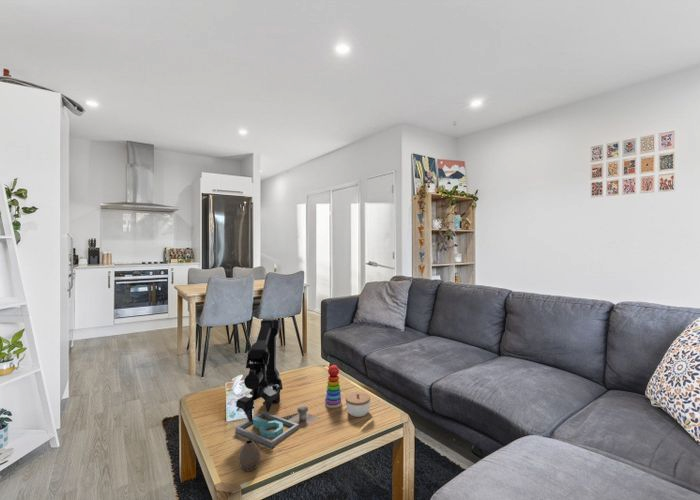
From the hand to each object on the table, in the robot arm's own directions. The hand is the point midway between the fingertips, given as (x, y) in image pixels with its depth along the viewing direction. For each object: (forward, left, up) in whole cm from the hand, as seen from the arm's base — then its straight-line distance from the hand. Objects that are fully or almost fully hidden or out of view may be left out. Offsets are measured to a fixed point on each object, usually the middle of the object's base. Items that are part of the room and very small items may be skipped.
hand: (259, 416), depth 139 cm
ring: (+4, 0, -4) cm, 6 cm away
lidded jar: (+28, +31, -5) cm, 42 cm away
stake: (+11, +14, -5) cm, 18 cm away
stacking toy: (+14, +32, -5) cm, 35 cm away
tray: (+4, 0, -5) cm, 7 cm away
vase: (+15, -18, -5) cm, 24 cm away
